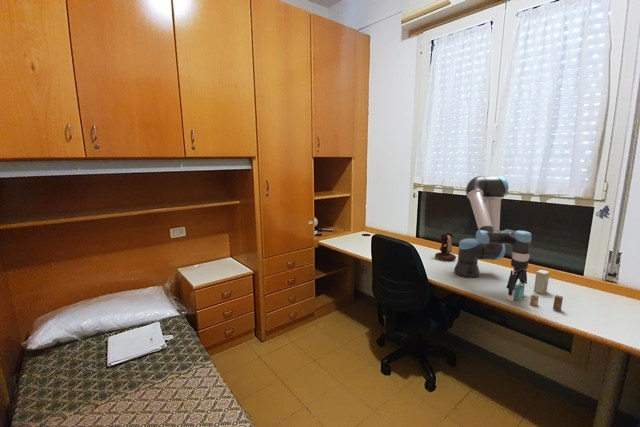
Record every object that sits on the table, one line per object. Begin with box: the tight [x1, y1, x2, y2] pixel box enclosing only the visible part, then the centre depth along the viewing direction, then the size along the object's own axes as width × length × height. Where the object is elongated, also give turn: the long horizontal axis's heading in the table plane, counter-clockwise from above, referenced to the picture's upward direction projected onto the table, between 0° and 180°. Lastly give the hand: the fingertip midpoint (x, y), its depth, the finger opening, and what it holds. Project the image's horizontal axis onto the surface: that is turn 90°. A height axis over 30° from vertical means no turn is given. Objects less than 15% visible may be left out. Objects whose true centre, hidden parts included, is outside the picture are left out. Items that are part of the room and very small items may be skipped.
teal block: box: [513, 283, 525, 301], centre depth 159 cm, size 5×5×7 cm
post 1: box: [529, 293, 539, 307], centre depth 152 cm, size 3×3×5 cm
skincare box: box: [533, 269, 550, 295], centre depth 166 cm, size 6×4×12 cm
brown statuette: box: [434, 232, 457, 262], centre depth 223 cm, size 15×15×20 cm
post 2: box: [552, 294, 564, 312], centre depth 146 cm, size 3×3×7 cm
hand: (515, 297), depth 160 cm, fingers open, 12 cm apart
